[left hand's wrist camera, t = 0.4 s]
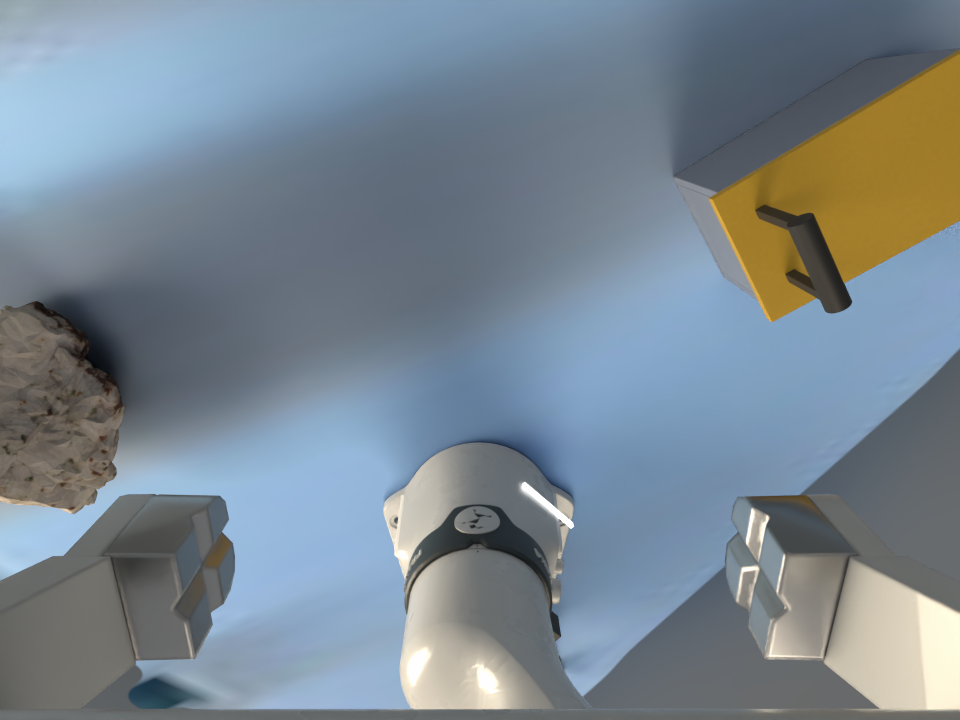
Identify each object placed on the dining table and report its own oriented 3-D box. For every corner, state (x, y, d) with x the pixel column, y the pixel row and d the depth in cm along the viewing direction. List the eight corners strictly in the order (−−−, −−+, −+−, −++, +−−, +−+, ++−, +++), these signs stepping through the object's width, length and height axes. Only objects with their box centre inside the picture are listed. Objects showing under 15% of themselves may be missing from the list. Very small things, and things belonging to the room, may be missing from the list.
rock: (-183, 440, 51) (-82, 535, 46) (-69, 254, 53) (42, 324, 47) (1, 460, 65) (96, 534, 59) (87, 312, 66) (187, 371, 61)
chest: (723, 277, 57) (775, 314, 47) (672, 176, 54) (716, 192, 44) (908, 172, 54) (1008, 187, 44) (866, 59, 51) (962, 47, 41)
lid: (767, 319, 47) (817, 356, 40) (707, 198, 44) (751, 215, 37) (1009, 187, 44) (1110, 203, 37) (963, 47, 41) (1064, 34, 34)
